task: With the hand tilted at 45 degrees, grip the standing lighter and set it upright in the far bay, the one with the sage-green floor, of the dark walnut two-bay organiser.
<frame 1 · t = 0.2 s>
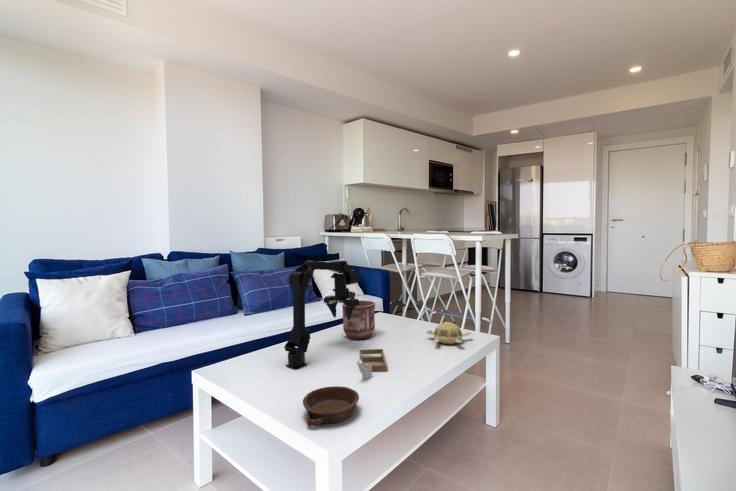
hand: (341, 318, 178), 15 cm above the table, tool pointing down, fingers open, 9 cm apart
dish: (331, 413, 116), on the table
pottery: (359, 336, 197), on the table
lighter: (364, 379, 141), on the table
organiser: (372, 362, 158), on the table
decorative figurine: (445, 342, 185), on the table
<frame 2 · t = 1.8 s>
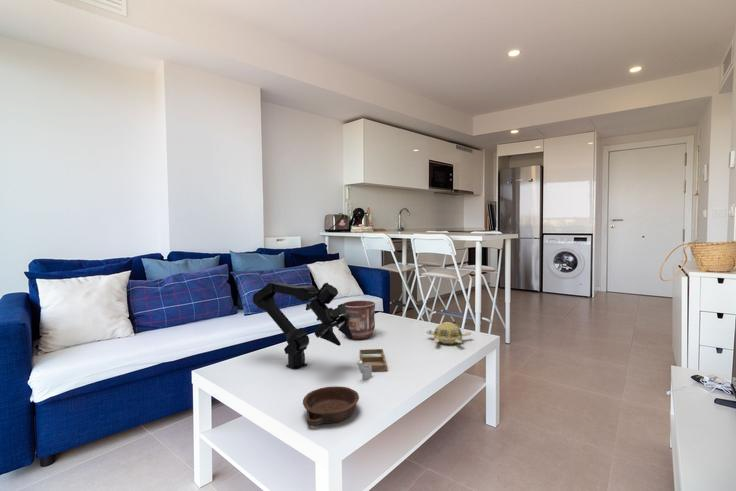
hand: (346, 341, 145), 13 cm above the table, tool tilted 45°, fingers open, 9 cm apart
nothing on the table moved.
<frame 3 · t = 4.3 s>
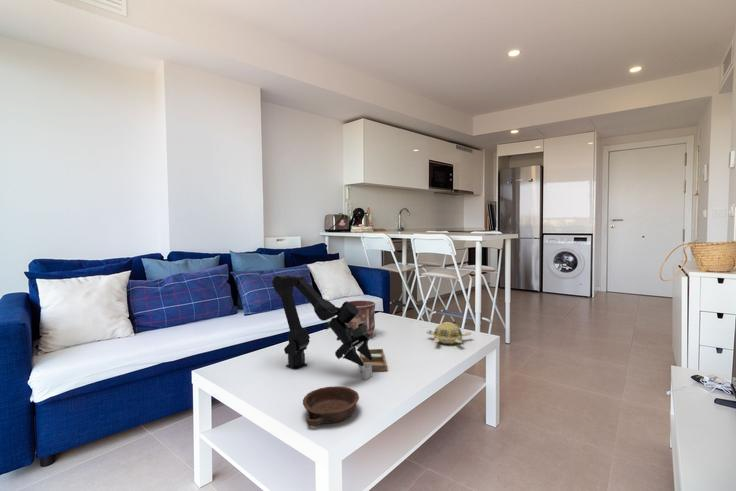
hand: (367, 362, 140), 7 cm above the table, tool tilted 45°, fingers open, 6 cm apart
lighter: (365, 379, 141), on the table, touching gripper
everything else where it was.
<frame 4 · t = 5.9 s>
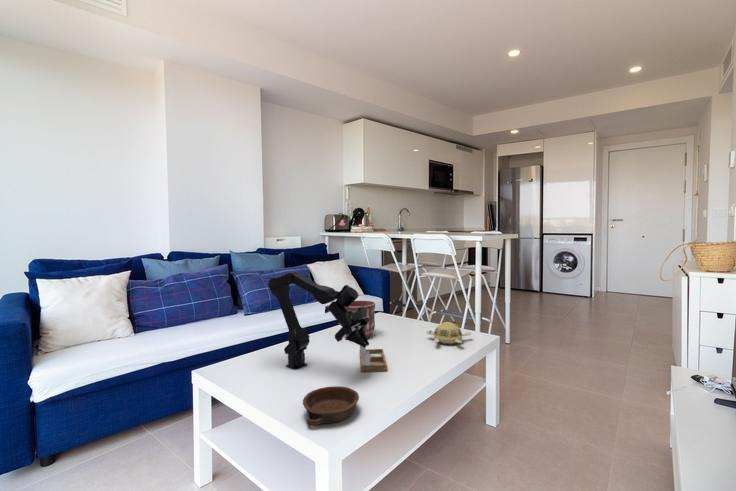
hand: (366, 345, 140), 13 cm above the table, tool tilted 45°, fingers closed on lighter
lighter: (362, 364, 141), point 6 cm above the table, touching gripper
everything else where it was.
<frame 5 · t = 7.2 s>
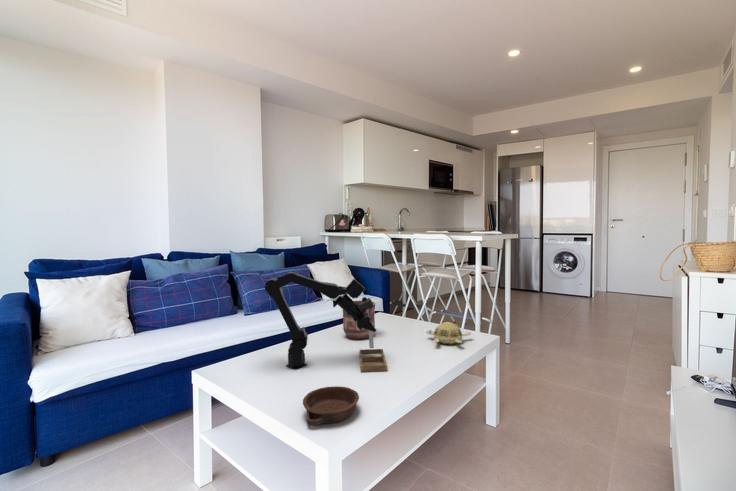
hand: (375, 330, 160), 13 cm above the table, tool tilted 45°, fingers closed on lighter
lighter: (371, 347, 160), point 6 cm above the table, touching gripper
everything else where it was.
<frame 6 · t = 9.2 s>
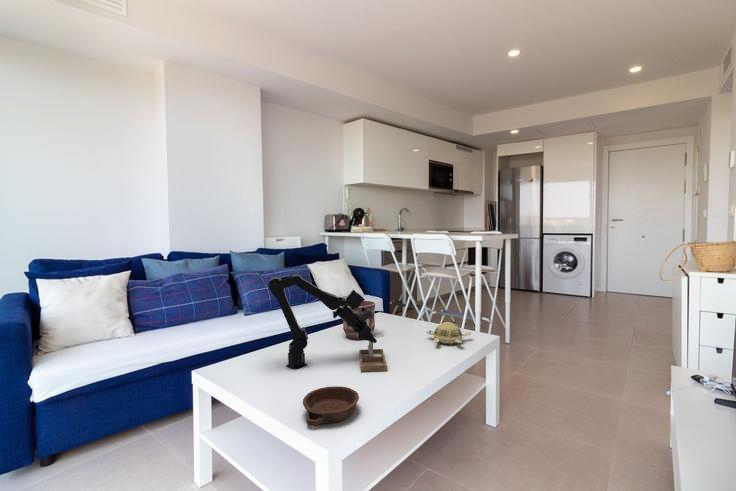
hand: (374, 339, 163), 8 cm above the table, tool tilted 45°, fingers open, 6 cm apart
lighter: (371, 357, 162), point 1 cm above the table, touching gripper, organiser
everything else where it was.
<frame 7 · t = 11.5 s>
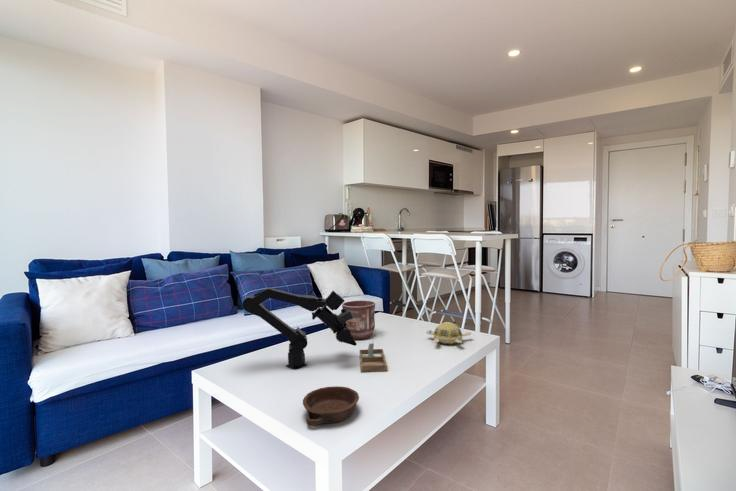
hand: (354, 341, 161), 8 cm above the table, tool tilted 45°, fingers open, 9 cm apart
lighter: (371, 358, 162), point 1 cm above the table, touching organiser
everything else where it was.
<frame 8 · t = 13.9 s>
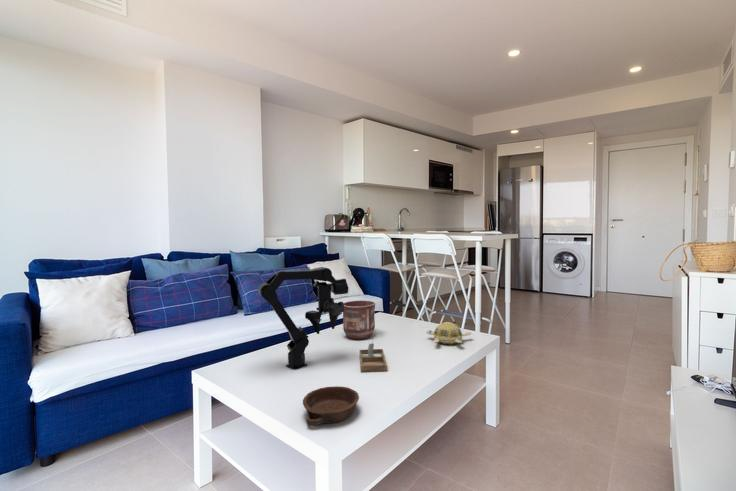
hand: (325, 331, 162), 13 cm above the table, tool pointing down, fingers open, 9 cm apart
nothing on the table moved.
at the end: lighter inside the target area (0.7 cm from its centre), point 0.5 cm above the table; lighter tilted 0°; the gripper is holding nothing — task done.
